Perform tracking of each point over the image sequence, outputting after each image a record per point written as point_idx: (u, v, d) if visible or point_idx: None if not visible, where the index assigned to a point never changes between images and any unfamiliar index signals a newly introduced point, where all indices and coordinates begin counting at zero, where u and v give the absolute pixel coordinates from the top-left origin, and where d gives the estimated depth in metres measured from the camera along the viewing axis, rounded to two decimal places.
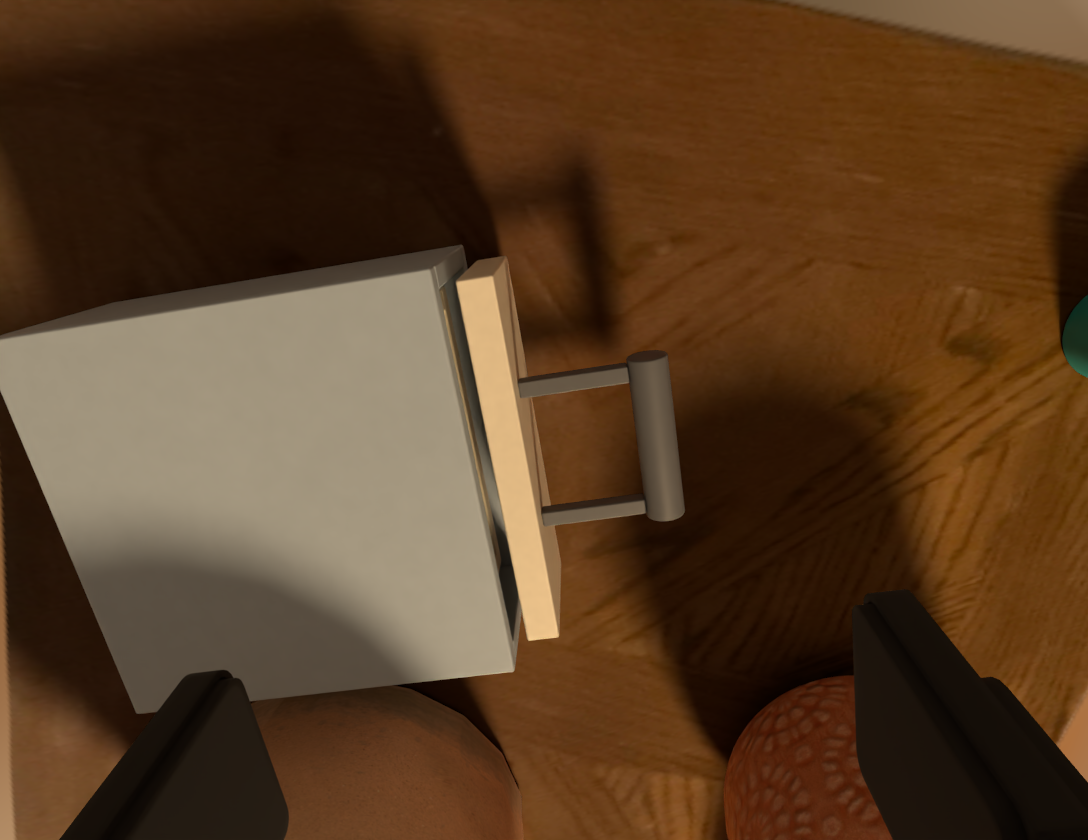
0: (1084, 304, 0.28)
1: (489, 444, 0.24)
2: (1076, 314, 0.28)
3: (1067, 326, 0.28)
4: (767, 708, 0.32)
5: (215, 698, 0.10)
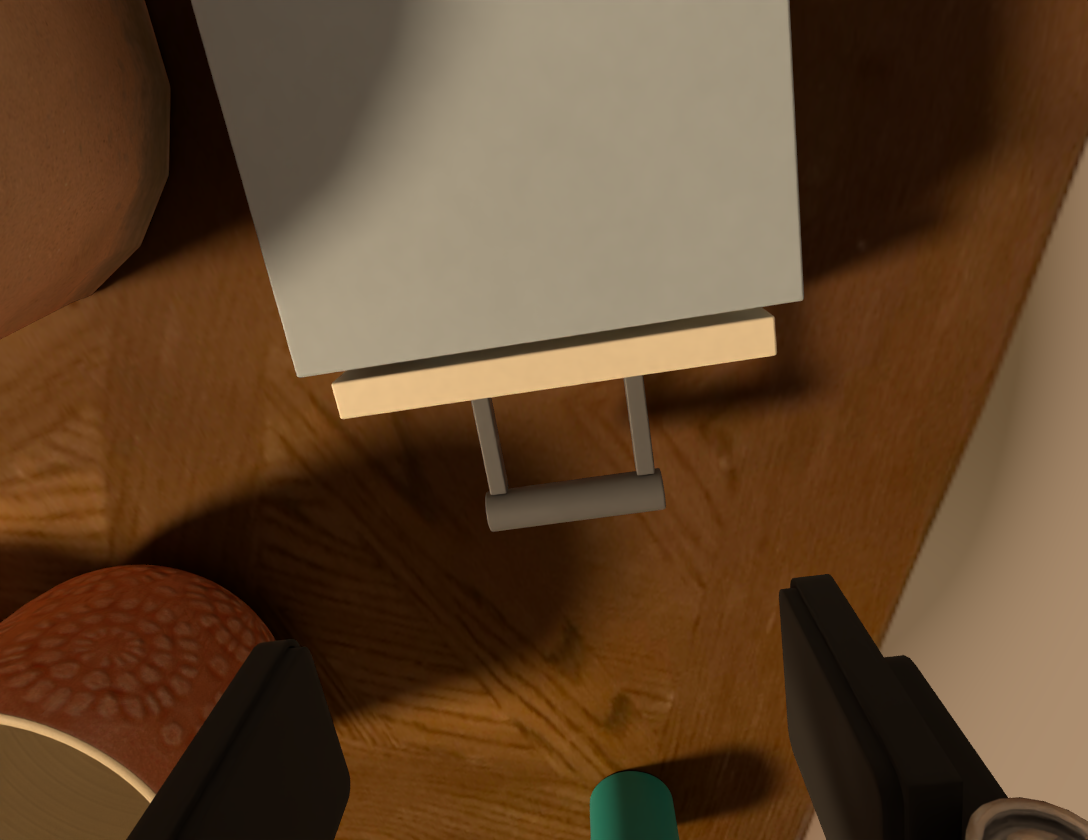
0: (656, 782, 0.34)
1: (586, 346, 0.21)
2: (647, 778, 0.34)
3: (637, 774, 0.34)
4: (235, 599, 0.30)
5: (288, 664, 0.11)
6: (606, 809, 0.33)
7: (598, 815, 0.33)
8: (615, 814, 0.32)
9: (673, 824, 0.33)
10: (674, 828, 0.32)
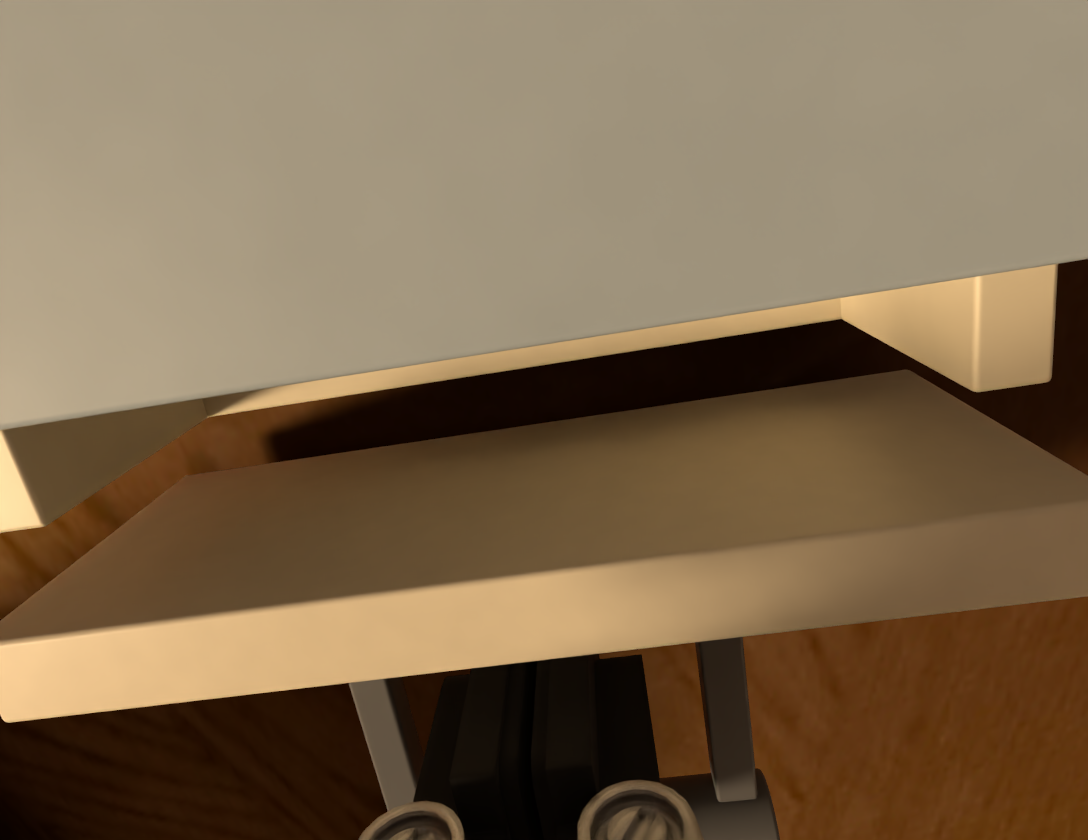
0: None
1: (606, 568, 0.08)
2: None
3: None
4: None
5: None
6: None
7: None
8: None
9: None
10: None
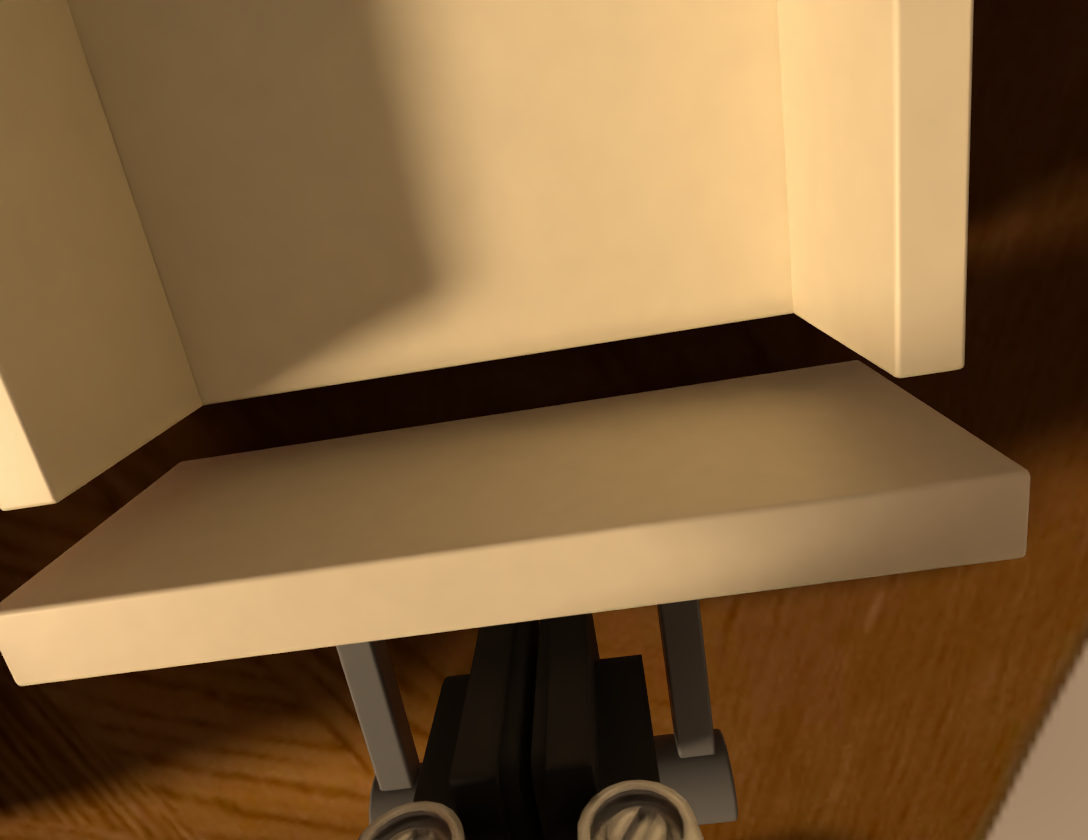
0: None
1: (571, 538, 0.09)
2: None
3: None
4: None
5: None
6: None
7: None
8: None
9: None
10: None
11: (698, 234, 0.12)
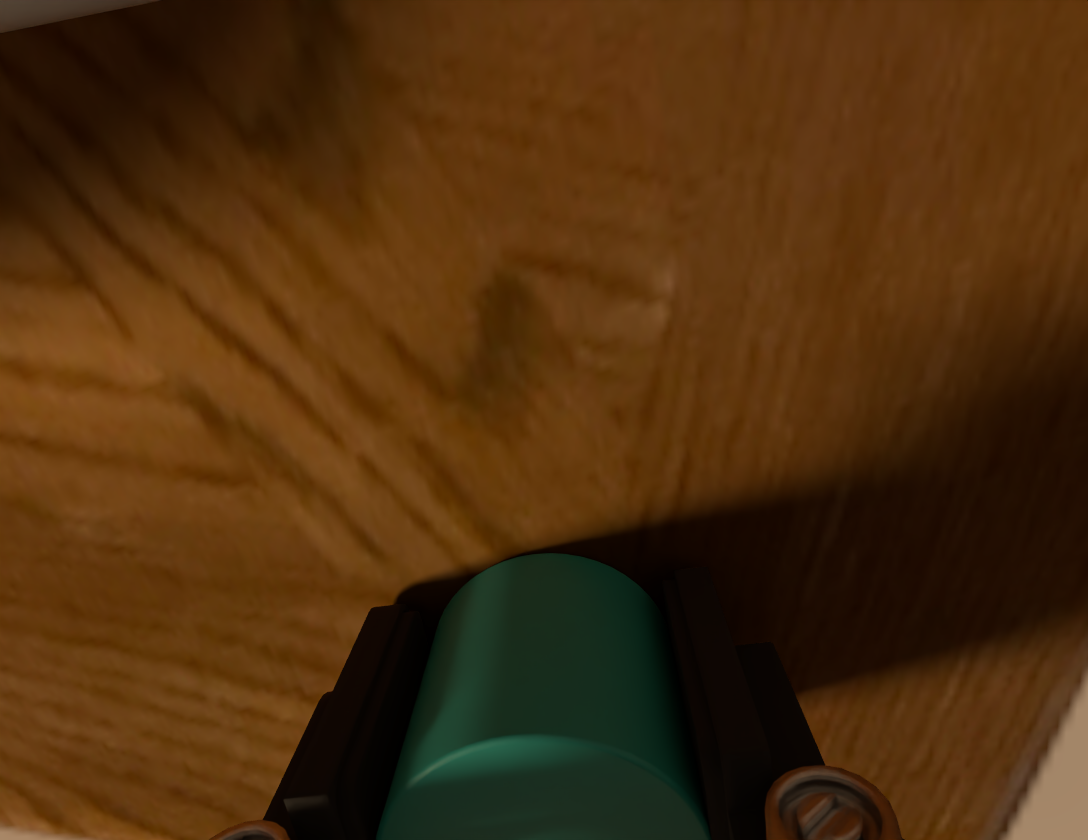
0: (621, 582, 0.11)
1: None
2: (595, 570, 0.11)
3: (564, 558, 0.11)
4: None
5: (405, 626, 0.11)
6: (454, 647, 0.10)
7: (431, 668, 0.10)
8: (476, 654, 0.09)
9: (674, 693, 0.10)
10: (677, 704, 0.10)
11: None
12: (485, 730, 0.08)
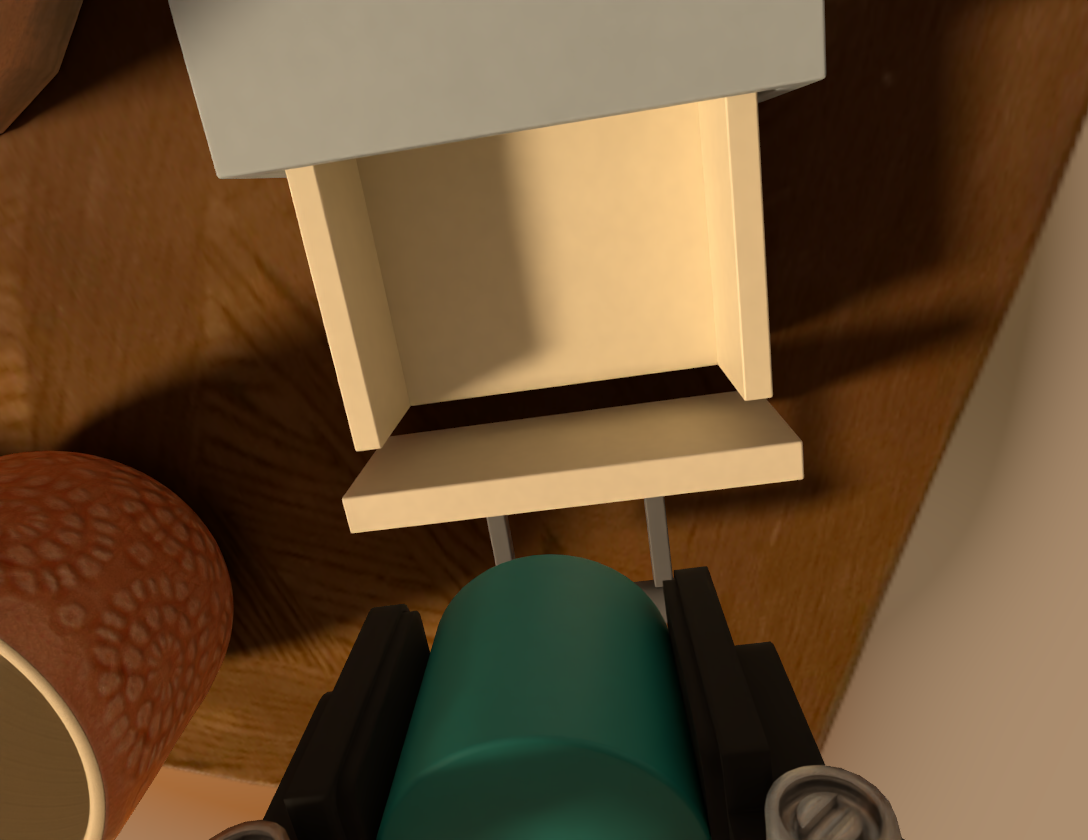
0: (621, 584, 0.11)
1: (606, 467, 0.21)
2: (596, 572, 0.11)
3: (565, 559, 0.11)
4: (169, 492, 0.26)
5: (405, 626, 0.11)
6: (454, 648, 0.10)
7: (431, 669, 0.10)
8: (477, 657, 0.09)
9: (674, 694, 0.10)
10: (678, 705, 0.10)
11: (669, 325, 0.23)
12: (486, 732, 0.08)
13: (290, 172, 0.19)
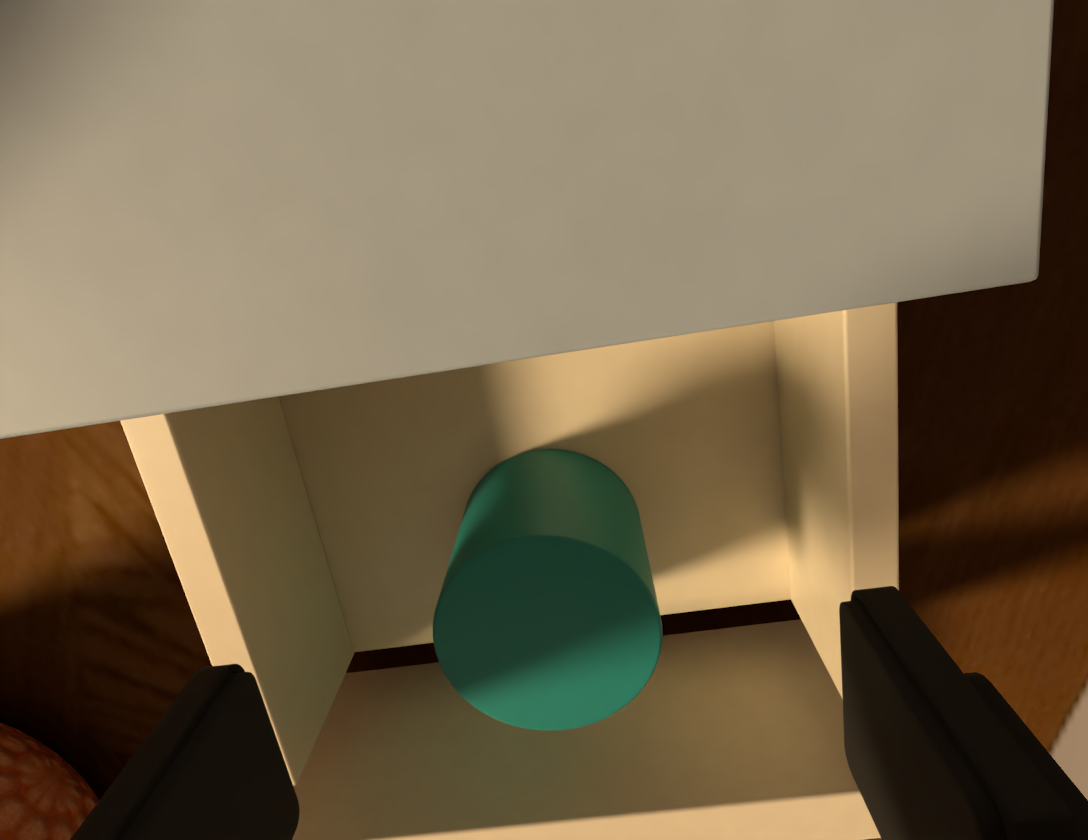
0: (602, 469, 0.15)
1: (640, 816, 0.13)
2: (583, 459, 0.15)
3: (560, 451, 0.15)
4: (26, 760, 0.19)
5: (228, 692, 0.10)
6: (482, 505, 0.14)
7: (466, 521, 0.14)
8: (499, 504, 0.14)
9: (637, 534, 0.14)
10: (639, 540, 0.14)
11: (722, 549, 0.16)
12: (508, 536, 0.12)
13: None
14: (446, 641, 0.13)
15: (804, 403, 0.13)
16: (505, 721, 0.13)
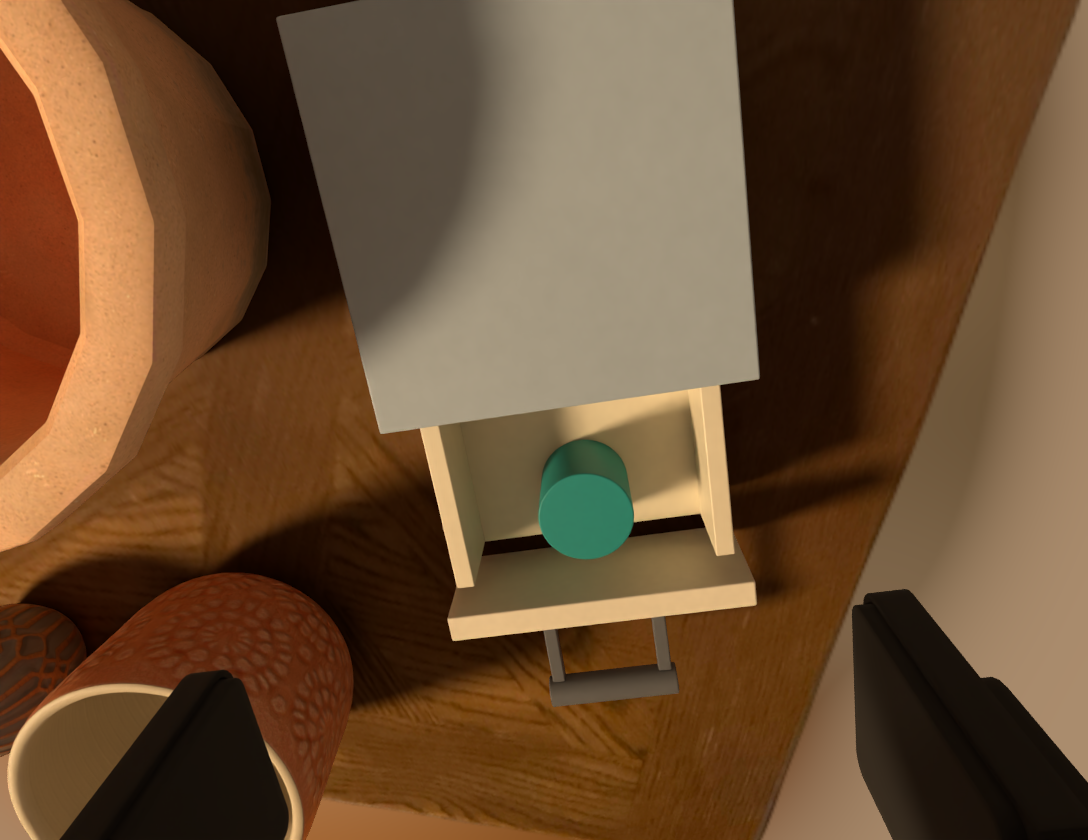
0: (608, 448, 0.33)
1: (625, 598, 0.31)
2: (600, 444, 0.33)
3: (589, 440, 0.33)
4: (310, 601, 0.37)
5: (215, 698, 0.10)
6: (555, 464, 0.32)
7: (548, 471, 0.32)
8: (564, 462, 0.31)
9: (624, 477, 0.32)
10: (625, 479, 0.31)
11: (666, 488, 0.34)
12: (571, 473, 0.30)
13: None
14: (544, 518, 0.30)
15: (695, 419, 0.31)
16: (567, 555, 0.31)
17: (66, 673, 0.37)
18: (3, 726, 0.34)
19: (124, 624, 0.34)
